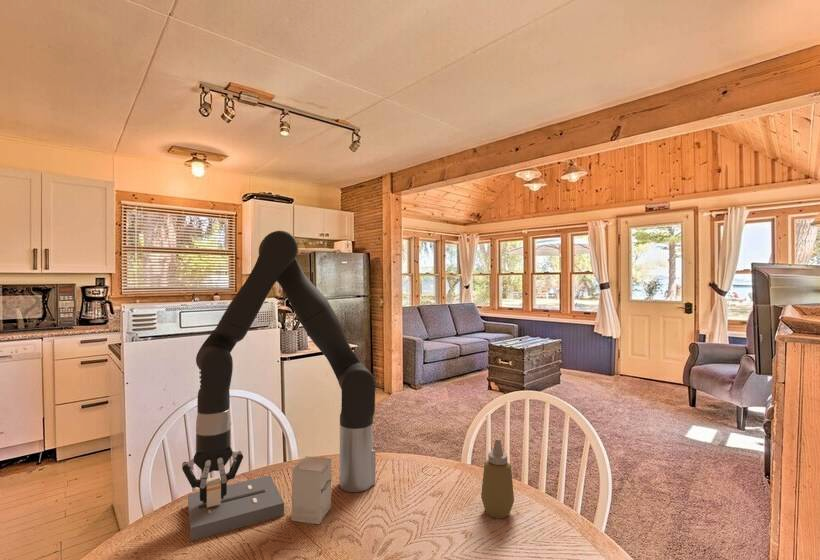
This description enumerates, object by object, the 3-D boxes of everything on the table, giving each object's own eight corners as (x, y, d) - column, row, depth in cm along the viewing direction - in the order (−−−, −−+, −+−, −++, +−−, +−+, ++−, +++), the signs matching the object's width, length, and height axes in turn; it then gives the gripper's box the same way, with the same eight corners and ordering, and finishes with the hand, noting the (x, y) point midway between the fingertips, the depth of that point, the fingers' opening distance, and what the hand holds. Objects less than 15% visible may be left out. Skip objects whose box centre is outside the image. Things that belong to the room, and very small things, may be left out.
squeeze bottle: (520, 511, 101) (520, 439, 101) (503, 526, 95) (504, 449, 95) (491, 499, 106) (492, 431, 106) (474, 512, 101) (475, 439, 101)
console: (270, 485, 113) (270, 474, 113) (284, 515, 99) (284, 501, 99) (188, 506, 103) (188, 493, 103) (190, 541, 89) (190, 527, 89)
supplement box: (319, 525, 95) (320, 471, 95) (290, 521, 97) (291, 468, 96) (332, 507, 102) (332, 457, 102) (304, 504, 104) (305, 454, 104)
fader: (219, 496, 101) (219, 476, 101) (221, 504, 97) (221, 483, 97) (205, 499, 99) (205, 479, 99) (206, 507, 96) (206, 486, 96)
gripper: (242, 418, 105) (241, 485, 105) (179, 428, 98) (179, 500, 98) (247, 428, 99) (246, 499, 99) (180, 439, 91) (179, 515, 91)
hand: (213, 499), depth 98 cm, fingers closed on fader, 3 cm apart
